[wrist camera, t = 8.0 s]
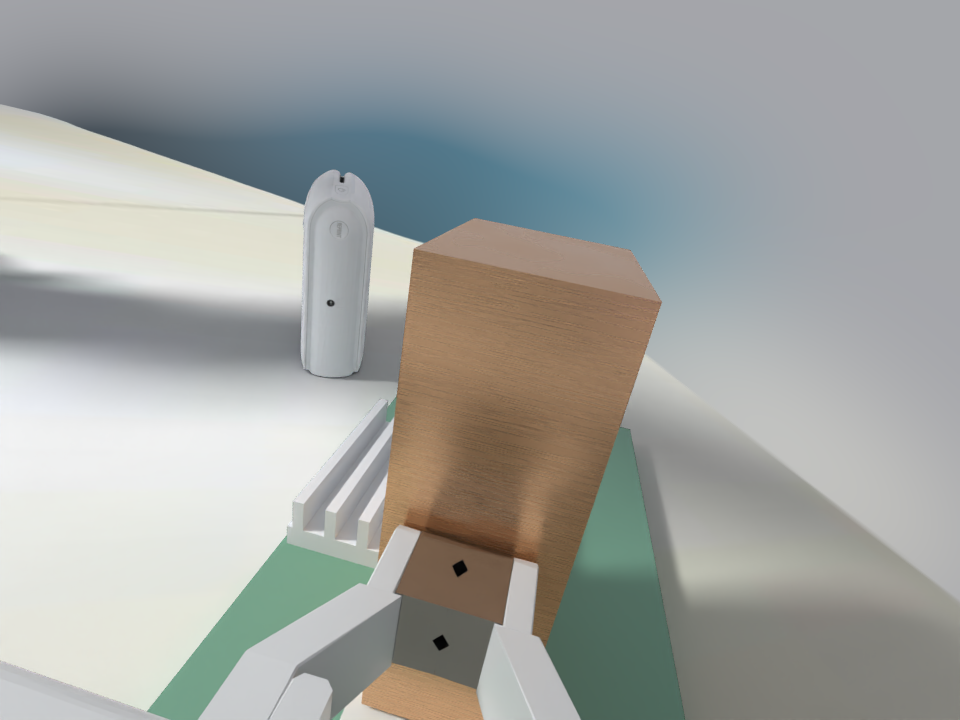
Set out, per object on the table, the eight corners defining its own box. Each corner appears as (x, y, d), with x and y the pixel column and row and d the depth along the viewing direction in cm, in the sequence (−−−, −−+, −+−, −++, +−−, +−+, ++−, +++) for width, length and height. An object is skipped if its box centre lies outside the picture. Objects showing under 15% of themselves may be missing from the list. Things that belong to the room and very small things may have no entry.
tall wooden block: (510, 752, 12) (662, 302, 7) (361, 704, 13) (413, 248, 8) (539, 501, 21) (616, 226, 16) (452, 478, 22) (503, 204, 17)
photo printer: (365, 381, 32) (381, 186, 27) (296, 378, 31) (300, 174, 26) (361, 324, 41) (373, 170, 36) (307, 320, 40) (312, 160, 35)
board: (713, 1006, 10) (863, 855, 7) (116, 786, 12) (70, 599, 9) (624, 445, 30) (656, 352, 27) (410, 392, 32) (422, 299, 29)
